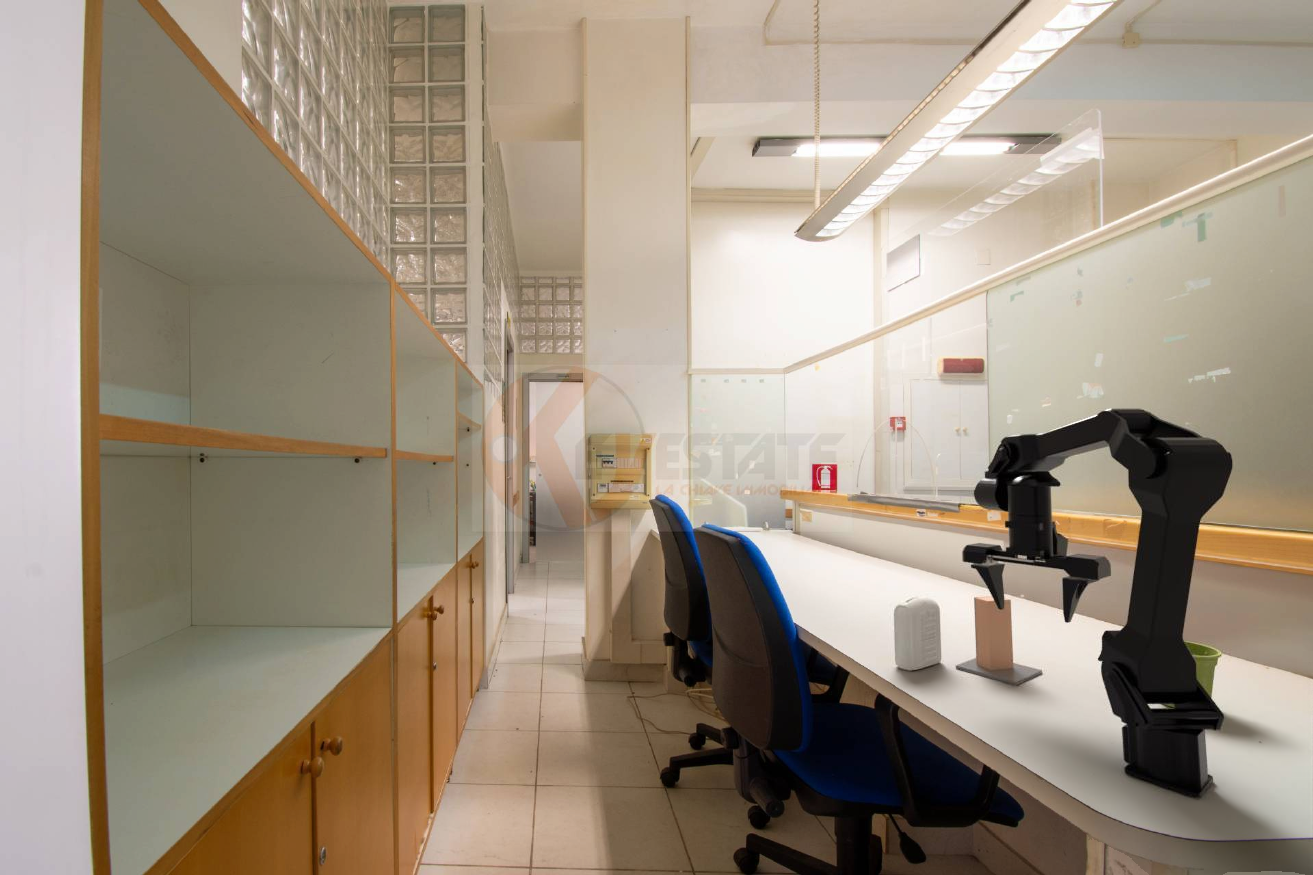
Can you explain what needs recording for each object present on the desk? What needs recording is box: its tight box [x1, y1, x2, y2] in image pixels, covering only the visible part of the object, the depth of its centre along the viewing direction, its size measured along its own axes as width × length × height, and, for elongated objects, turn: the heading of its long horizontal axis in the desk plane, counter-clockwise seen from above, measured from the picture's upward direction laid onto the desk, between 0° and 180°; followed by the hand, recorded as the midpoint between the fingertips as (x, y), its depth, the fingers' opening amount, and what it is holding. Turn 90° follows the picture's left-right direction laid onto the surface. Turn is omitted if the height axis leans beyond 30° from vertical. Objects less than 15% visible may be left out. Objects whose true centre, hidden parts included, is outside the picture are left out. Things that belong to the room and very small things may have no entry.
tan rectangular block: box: [973, 595, 1014, 670], centre depth 101 cm, size 3×5×12 cm, turn 104°
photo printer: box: [893, 595, 942, 672], centre depth 104 cm, size 10×4×12 cm, turn 123°
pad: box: [955, 657, 1043, 686], centre depth 100 cm, size 10×10×1 cm
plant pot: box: [1163, 640, 1223, 708], centre depth 85 cm, size 9×9×9 cm
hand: (1033, 615), depth 87 cm, fingers open, 9 cm apart
